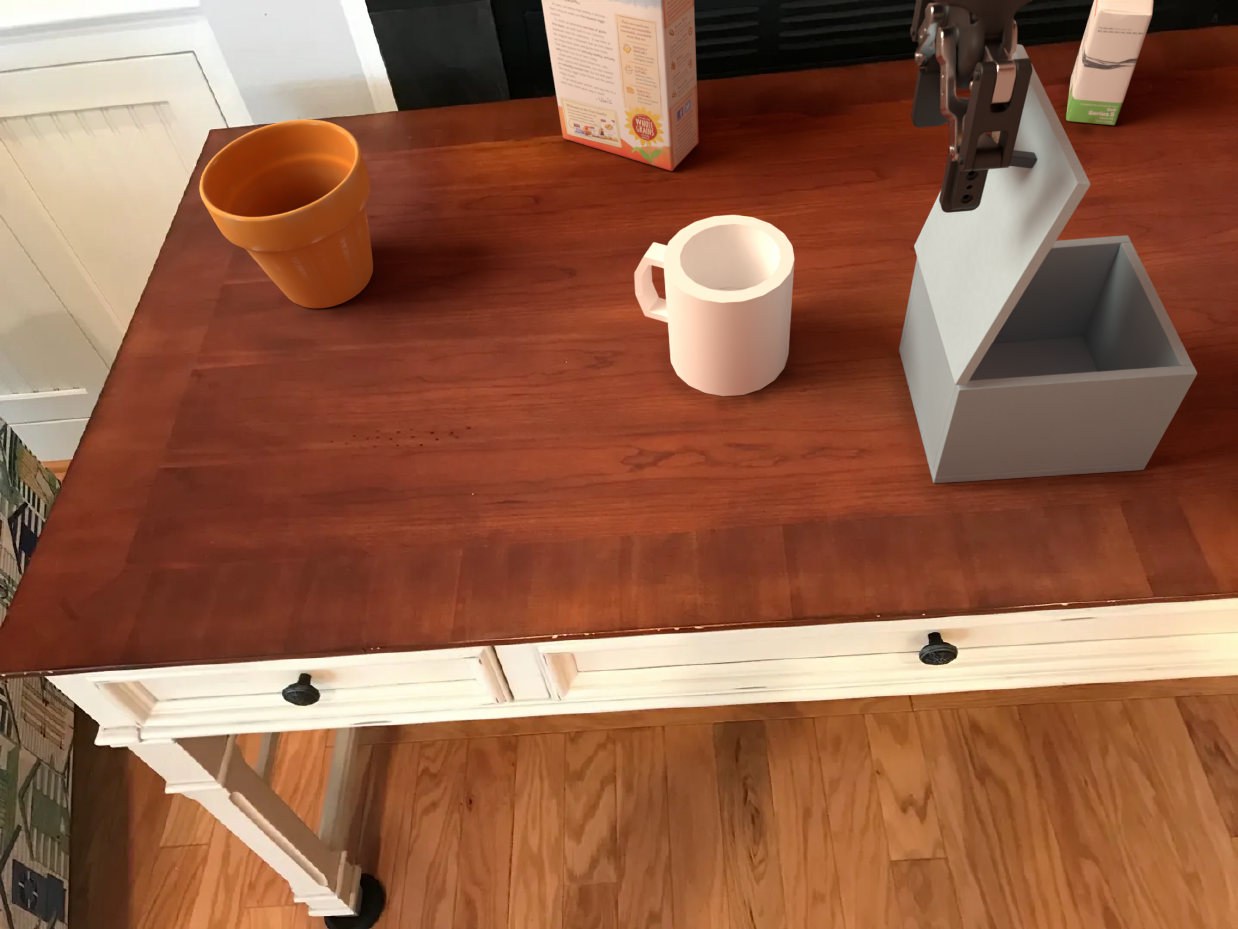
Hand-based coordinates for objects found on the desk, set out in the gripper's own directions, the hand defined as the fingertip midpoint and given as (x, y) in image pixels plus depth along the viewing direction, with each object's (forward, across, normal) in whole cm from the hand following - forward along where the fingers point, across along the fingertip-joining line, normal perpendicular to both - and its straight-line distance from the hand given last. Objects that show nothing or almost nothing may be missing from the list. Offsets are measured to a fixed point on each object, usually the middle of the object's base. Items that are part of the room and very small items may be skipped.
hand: (942, 163), depth 60 cm
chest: (+24, 0, -10) cm, 26 cm away
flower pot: (+24, +22, +50) cm, 60 cm away
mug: (+24, +9, +13) cm, 29 cm away
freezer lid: (+5, 0, -4) cm, 6 cm away
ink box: (+24, +40, -28) cm, 54 cm away
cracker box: (+24, +40, +20) cm, 51 cm away
